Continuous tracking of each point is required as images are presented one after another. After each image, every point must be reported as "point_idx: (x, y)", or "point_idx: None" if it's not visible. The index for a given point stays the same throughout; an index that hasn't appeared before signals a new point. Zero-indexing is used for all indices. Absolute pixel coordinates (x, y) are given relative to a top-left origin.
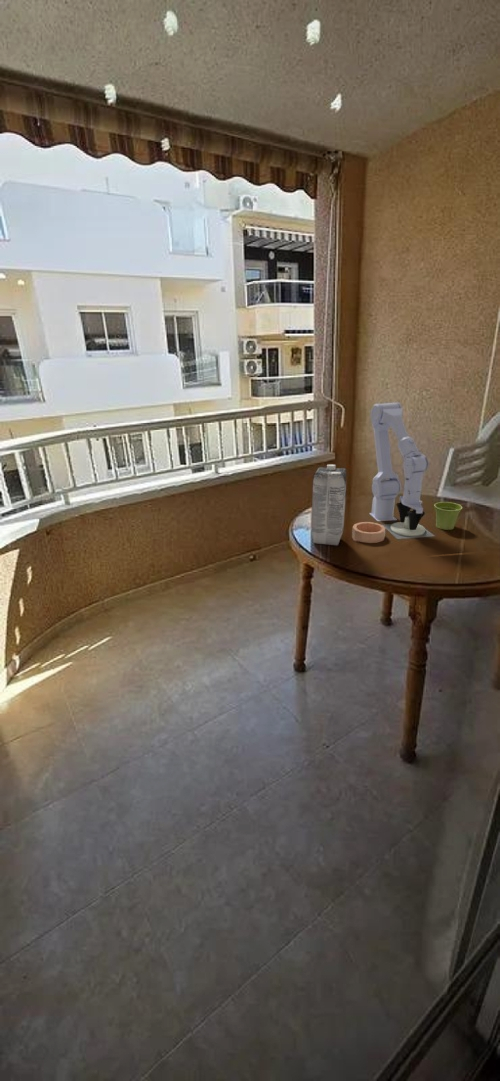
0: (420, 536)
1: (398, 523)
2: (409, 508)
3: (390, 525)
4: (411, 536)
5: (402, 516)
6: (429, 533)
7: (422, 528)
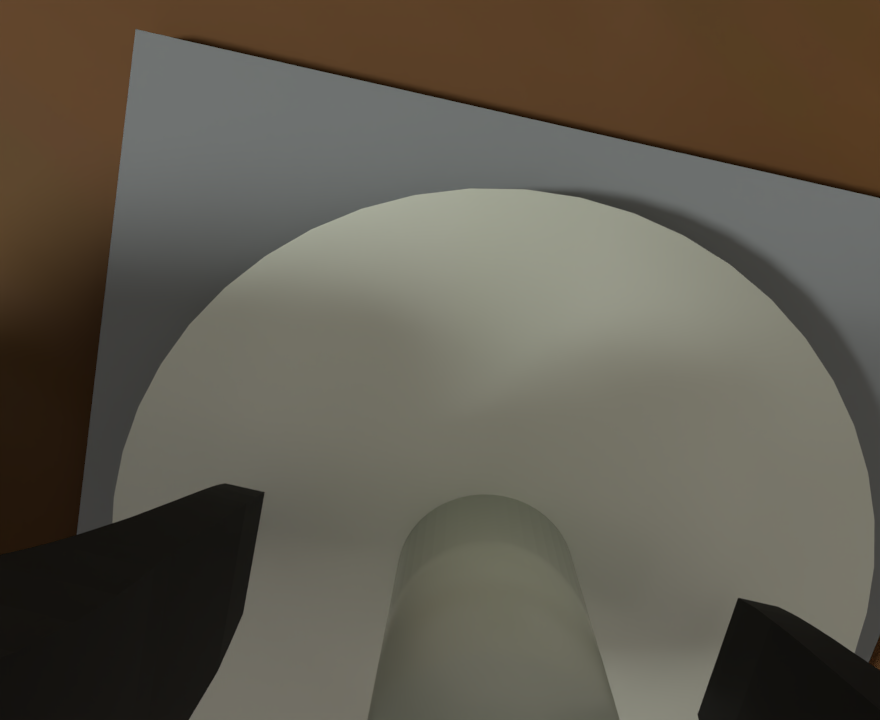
0: (878, 527)
1: None
2: (44, 700)
3: None
4: None
5: (175, 703)
6: (851, 244)
7: (668, 302)
